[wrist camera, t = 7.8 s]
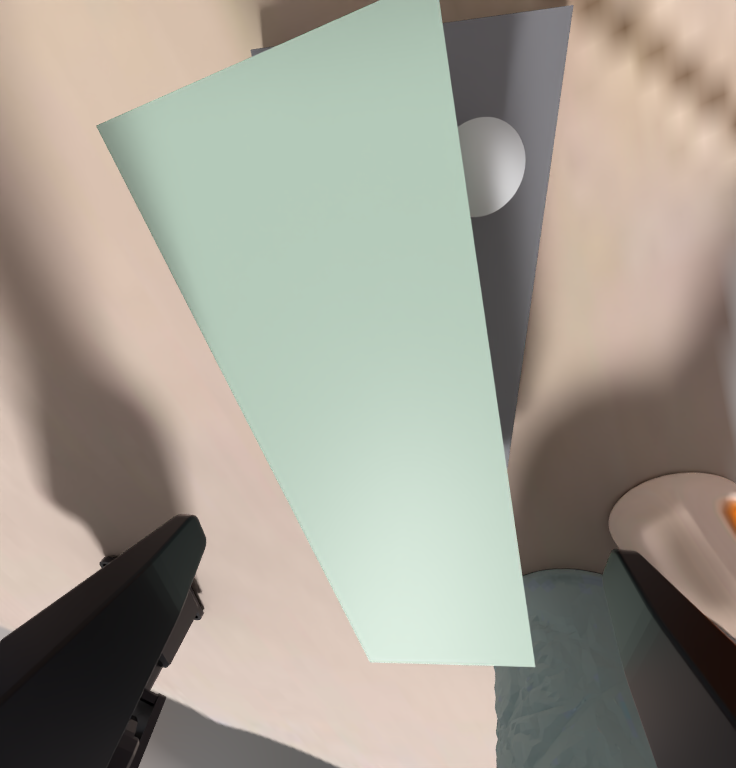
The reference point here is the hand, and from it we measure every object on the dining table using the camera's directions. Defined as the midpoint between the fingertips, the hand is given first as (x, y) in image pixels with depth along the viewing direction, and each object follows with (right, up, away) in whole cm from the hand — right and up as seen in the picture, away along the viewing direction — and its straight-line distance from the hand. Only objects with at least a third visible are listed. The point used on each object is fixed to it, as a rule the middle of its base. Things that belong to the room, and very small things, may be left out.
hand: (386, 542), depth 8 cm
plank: (0, +2, +4) cm, 5 cm away
